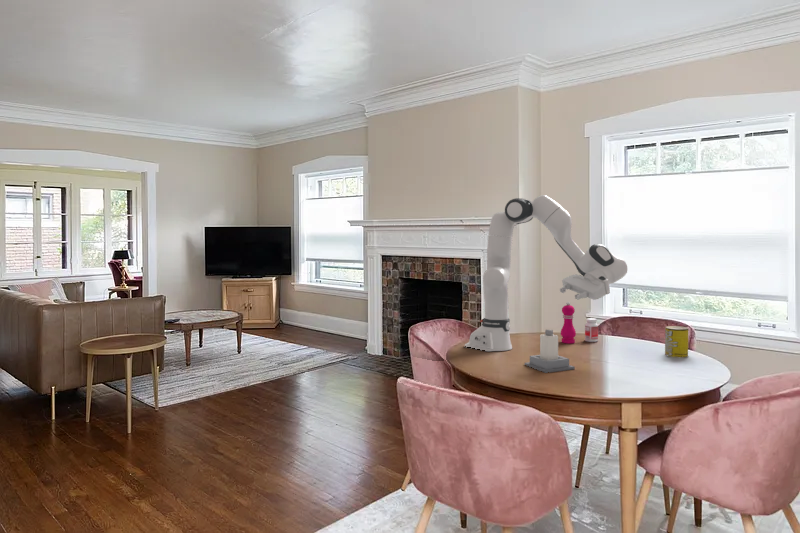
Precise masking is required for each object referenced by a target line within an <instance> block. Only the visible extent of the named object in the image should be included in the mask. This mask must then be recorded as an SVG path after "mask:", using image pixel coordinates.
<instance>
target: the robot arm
mask: <svg viewBox="0 0 800 533" xmlns="http://www.w3.org/2000/svg"><path fill="white" fill-rule="evenodd" d="M533 219H536V220H538V221H539V222H540V223H542V224H543V226H544V227H546V229H547V230H548V231H549V232H550V234H551V235H552V237H553V238H554V239H553V240H555V243H556V244H557V245H558V246H559V248H561V250H562V251H563V252H564V253H565V254H566V255H567V257H568V258H569V259H570V261H571V262H572V263H573V264H574V267H576V270H577V272H578V273H579V274H575V273H574V274H571V275H569V276H566V277H564V278H563V279H562V280H561V281H562V287H560V288H559V291H560V292H559V293H562V294H564V293H566V292H567V290H569V291H572V292H574V293H576V294H574V299H575V300H581V299H586V298H587V299H591V300H593V301H594V300H595V301H596V300H599V299H601V298H603V297H604V296H606V295H609V294H611V290H610V289H611V288H610V285H612V284H615V283H616V282H618V281H620V280H621V279H623V278H624V277H625V276H626V275H627V273H628V264H627V262H626V261H625V260H624V259H623V258H621V257H618V256H616V255H615V254H613V253H612V252H611V251H610V249H609V248H608V247H607V246H605V245H604V244H601V243H594V244H592V245H590V247H589V248H588V249H587V250H586V251H585V252H583V250H582V249H581V248H580V246H579V245H578V244H577V243H576V242H575V241H574V240H573V237H572V225H573V221H572V220H573V219H572V216H571V215H570V213H569V212H568V211H567V210H566V209H565V208H564V207H563V206H562V205H561V204H559V203H558V202H557V201H555V199H553V198H551V197H550V196H548V195H546V194H541V195H538V196H537V197H535V198H534V199H533V200H532V201H531V200H529V199H526V198H523V197H522V198H519V197H518V198H517V197H516V198H512V199H510V200H509V201H507V203H506V204H505V207H504V211H499V212H496V213H494V214H493V215H492V217H491V220H490V224H489V228H488V235H487V236H488V238H487V246H486V247H487V248H486V258H487V259H486V269H485V272H483V275H482V283H483V286H482V287H483V295H484V317H483V318H482V319H479V323H481V325H480V326H479V327H478V328H477V329H475V330H474V331H473V332H471V334H470V335H469V340H468V342H467V343H465V344H464V347H465V346H466V347H465V348H467V347H471V348H470V349H472V348H475V349H474V350H477V349H480V350H479V351H482V350H485V351H484V352H501V351H502V352H503V351H510V350H512V349H513V345H512V342H511V341H512V340H511V337H510V329H511V328H510V327H511V326H510V325H511V323H510V321H511V320H510V316H509V306H510V305H509V304H510V302H509V292H508V289H509V288H508V283H509V280H510V277H511V276H510V275H511V261H512V260H511V258H512V255H511V254H512V247H513V246H512V244H513V234H514V233H513V232H514V228H515V226H516V225H520V224H525V223H528V222H530V221H532V220H533ZM580 274H581V275H580Z"/></svg>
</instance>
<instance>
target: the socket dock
mask: <svg viewBox="0 0 800 533" xmlns="http://www.w3.org/2000/svg"><path fill="white" fill-rule="evenodd" d="M523 364H524V366H525V365H527V366H526V367H528V366H529V367H528V368H531V367H532V368H531V369H533V368H534V370H536V369H537V370H536V371H539V372H541V371H542V372H541V373H545V374H549V373H554V372H555V373H556V372H563V371H564V372H565V371H571V370H575V366H574V365H570V358H567V357H565V356H562V355H559V354H558V359H555V360H544V359H541V358H540V354H536V355H535V354H534V355H529V361H527V362H524V363H523ZM548 372H549V373H548Z"/></svg>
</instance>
